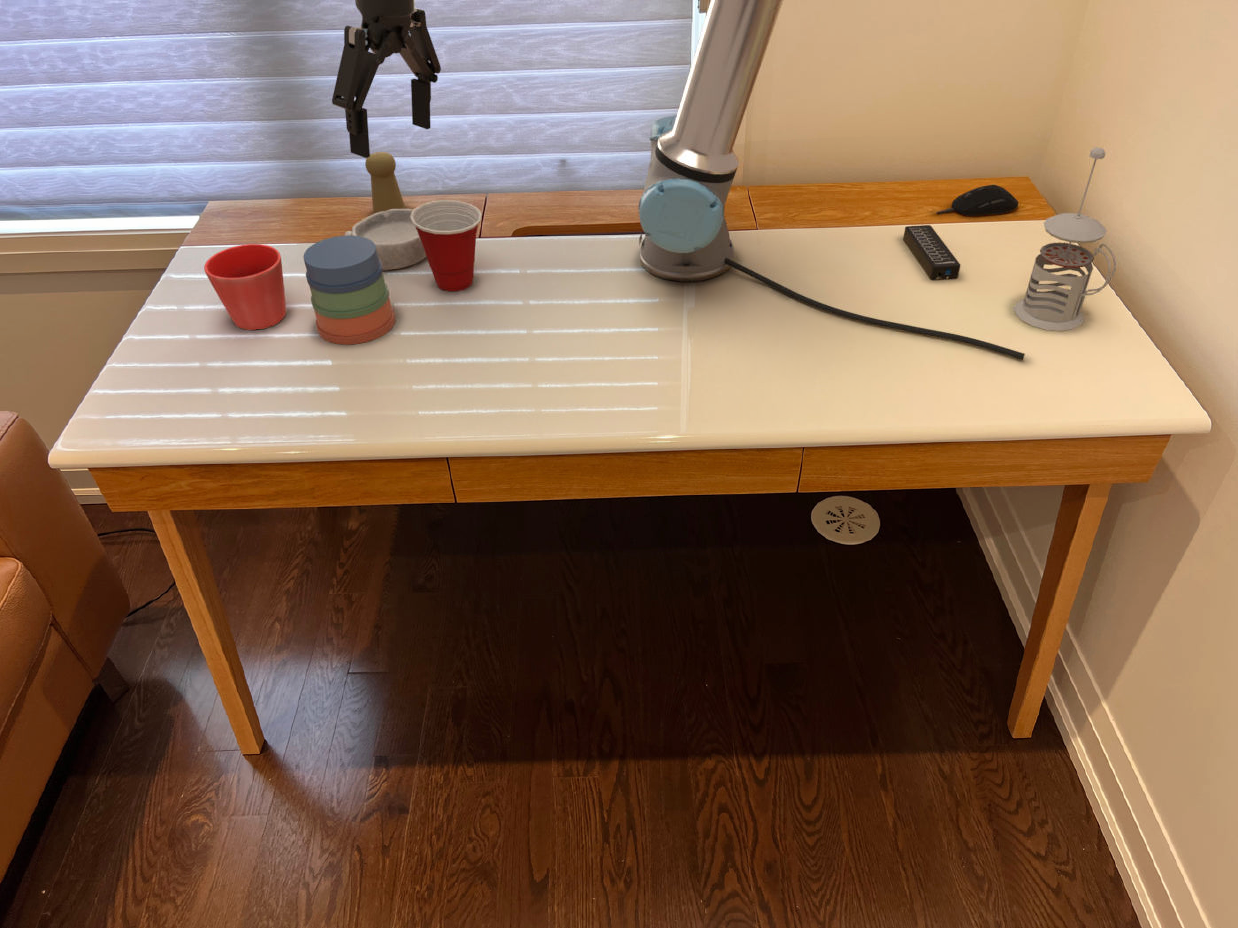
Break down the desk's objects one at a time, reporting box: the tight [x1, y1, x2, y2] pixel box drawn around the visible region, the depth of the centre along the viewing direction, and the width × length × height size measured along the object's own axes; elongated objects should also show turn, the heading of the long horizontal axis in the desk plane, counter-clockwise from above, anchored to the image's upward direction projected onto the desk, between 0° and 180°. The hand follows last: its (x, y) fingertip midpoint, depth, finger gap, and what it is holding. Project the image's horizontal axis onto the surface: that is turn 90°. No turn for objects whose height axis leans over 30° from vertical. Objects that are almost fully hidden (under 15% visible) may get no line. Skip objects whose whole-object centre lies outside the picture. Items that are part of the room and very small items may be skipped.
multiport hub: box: [902, 224, 961, 281], centre depth 154 cm, size 4×14×2 cm, turn 5°
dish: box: [344, 208, 427, 271], centre depth 159 cm, size 14×14×5 cm
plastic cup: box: [410, 199, 483, 292], centre depth 148 cm, size 11×11×12 cm
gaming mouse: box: [936, 184, 1019, 217], centre depth 166 cm, size 6×15×4 cm, turn 101°
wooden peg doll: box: [364, 151, 407, 215], centre depth 169 cm, size 6×6×11 cm
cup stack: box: [303, 235, 397, 345], centre depth 139 cm, size 12×12×12 cm
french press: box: [1013, 146, 1117, 332], centre depth 132 cm, size 10×12×25 cm
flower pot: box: [203, 243, 287, 331], centre depth 142 cm, size 11×11×10 cm
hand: (392, 140), depth 135 cm, fingers open, 13 cm apart
